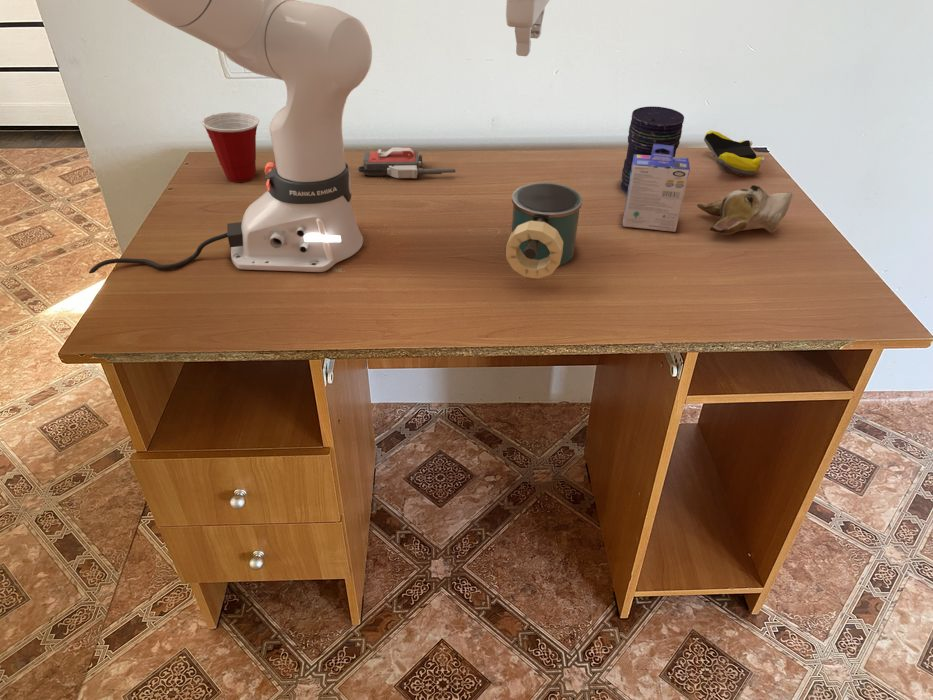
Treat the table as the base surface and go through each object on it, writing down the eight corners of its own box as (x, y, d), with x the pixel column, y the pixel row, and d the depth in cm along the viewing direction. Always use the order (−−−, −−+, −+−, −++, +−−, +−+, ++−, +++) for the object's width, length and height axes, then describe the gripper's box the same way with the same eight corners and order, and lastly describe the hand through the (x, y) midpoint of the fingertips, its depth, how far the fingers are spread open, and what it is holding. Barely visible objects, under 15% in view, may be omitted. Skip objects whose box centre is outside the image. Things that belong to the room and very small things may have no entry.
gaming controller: (715, 181, 141) (764, 182, 141) (722, 156, 138) (772, 156, 138) (698, 152, 153) (742, 152, 153) (703, 128, 149) (749, 128, 149)
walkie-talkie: (358, 181, 140) (455, 179, 141) (356, 160, 137) (455, 159, 138) (360, 163, 147) (453, 161, 148) (359, 143, 144) (453, 142, 145)
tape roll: (505, 274, 108) (507, 227, 103) (508, 264, 110) (510, 218, 105) (558, 281, 107) (562, 233, 101) (560, 271, 109) (565, 224, 104)
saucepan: (515, 230, 125) (518, 178, 118) (579, 238, 123) (586, 186, 116) (490, 296, 108) (492, 240, 102) (563, 306, 106) (570, 250, 100)
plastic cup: (278, 177, 141) (268, 120, 133) (229, 192, 135) (215, 133, 128) (254, 161, 147) (243, 105, 140) (206, 174, 142) (192, 117, 134)
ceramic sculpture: (805, 198, 116) (715, 200, 117) (793, 243, 121) (706, 245, 122) (785, 171, 124) (701, 174, 125) (774, 215, 130) (693, 217, 131)
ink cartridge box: (676, 219, 128) (692, 144, 119) (677, 233, 124) (694, 157, 115) (622, 213, 130) (635, 139, 121) (622, 227, 126) (635, 152, 117)
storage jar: (629, 174, 144) (642, 102, 134) (675, 185, 140) (691, 112, 130) (612, 192, 137) (623, 118, 127) (660, 204, 133) (675, 129, 124)
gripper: (547, -50, 83) (538, 68, 92) (568, -74, 98) (559, 29, 107) (496, -52, 84) (492, 64, 93) (525, -76, 100) (520, 26, 108)
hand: (528, 45), depth 100 cm, fingers open, 8 cm apart
